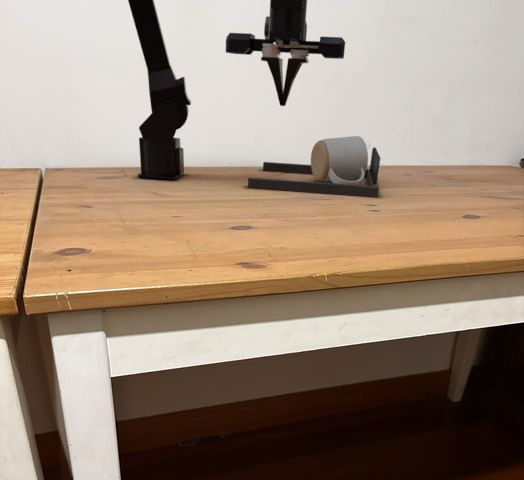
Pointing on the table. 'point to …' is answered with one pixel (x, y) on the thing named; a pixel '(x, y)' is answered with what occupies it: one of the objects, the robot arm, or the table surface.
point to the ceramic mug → (340, 160)
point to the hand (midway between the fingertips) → (282, 105)
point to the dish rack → (318, 186)
